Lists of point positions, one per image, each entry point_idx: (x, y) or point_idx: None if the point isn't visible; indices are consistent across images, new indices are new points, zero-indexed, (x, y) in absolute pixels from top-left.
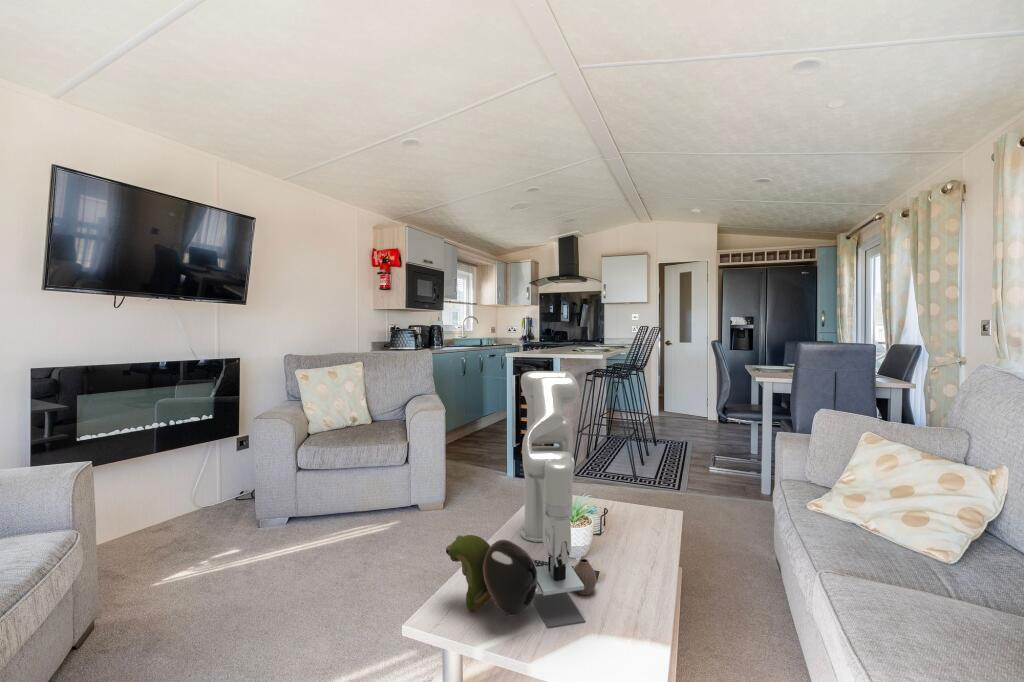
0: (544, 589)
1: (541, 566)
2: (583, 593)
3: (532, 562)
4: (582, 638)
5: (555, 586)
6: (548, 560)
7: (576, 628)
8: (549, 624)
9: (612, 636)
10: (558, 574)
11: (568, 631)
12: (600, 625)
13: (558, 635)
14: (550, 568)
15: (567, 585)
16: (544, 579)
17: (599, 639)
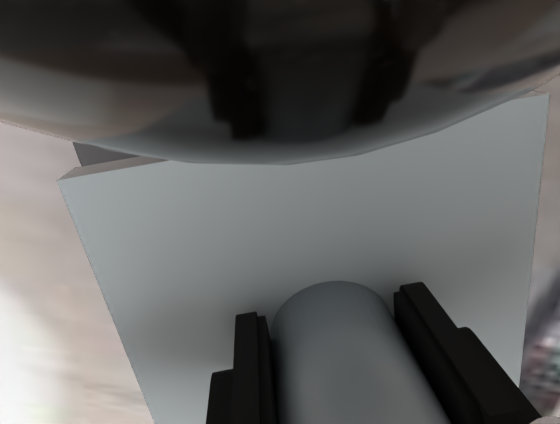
0: (102, 197)
1: (535, 216)
2: None
3: (27, 83)
4: (14, 307)
5: (164, 306)
6: (481, 365)
7: (95, 290)
8: (97, 157)
9: (52, 420)
10: (209, 410)
11: (63, 250)
12: (129, 388)
13: (18, 194)
14: (363, 337)
15: (181, 398)
16: (291, 219)
17: (20, 373)
